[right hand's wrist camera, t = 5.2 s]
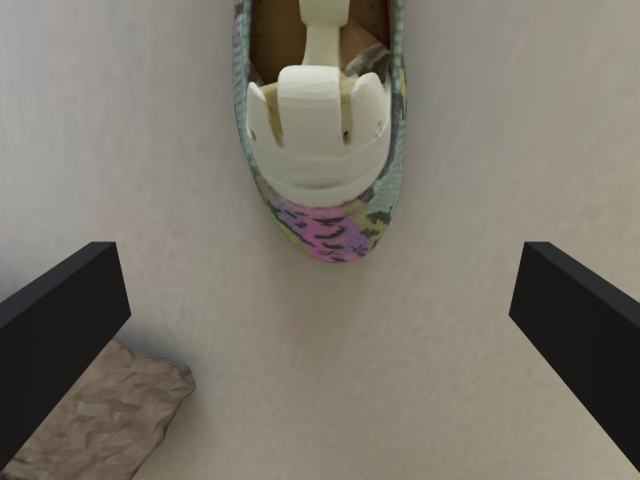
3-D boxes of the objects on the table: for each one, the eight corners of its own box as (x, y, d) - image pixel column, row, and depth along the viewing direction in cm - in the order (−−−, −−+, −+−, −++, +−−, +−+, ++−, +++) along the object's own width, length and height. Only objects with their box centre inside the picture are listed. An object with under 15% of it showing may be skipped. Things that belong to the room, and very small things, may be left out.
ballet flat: (252, 251, 23) (216, 334, 15) (214, -328, 15) (82, -847, 7) (388, 251, 23) (424, 334, 15) (431, -328, 15) (567, -849, 7)
